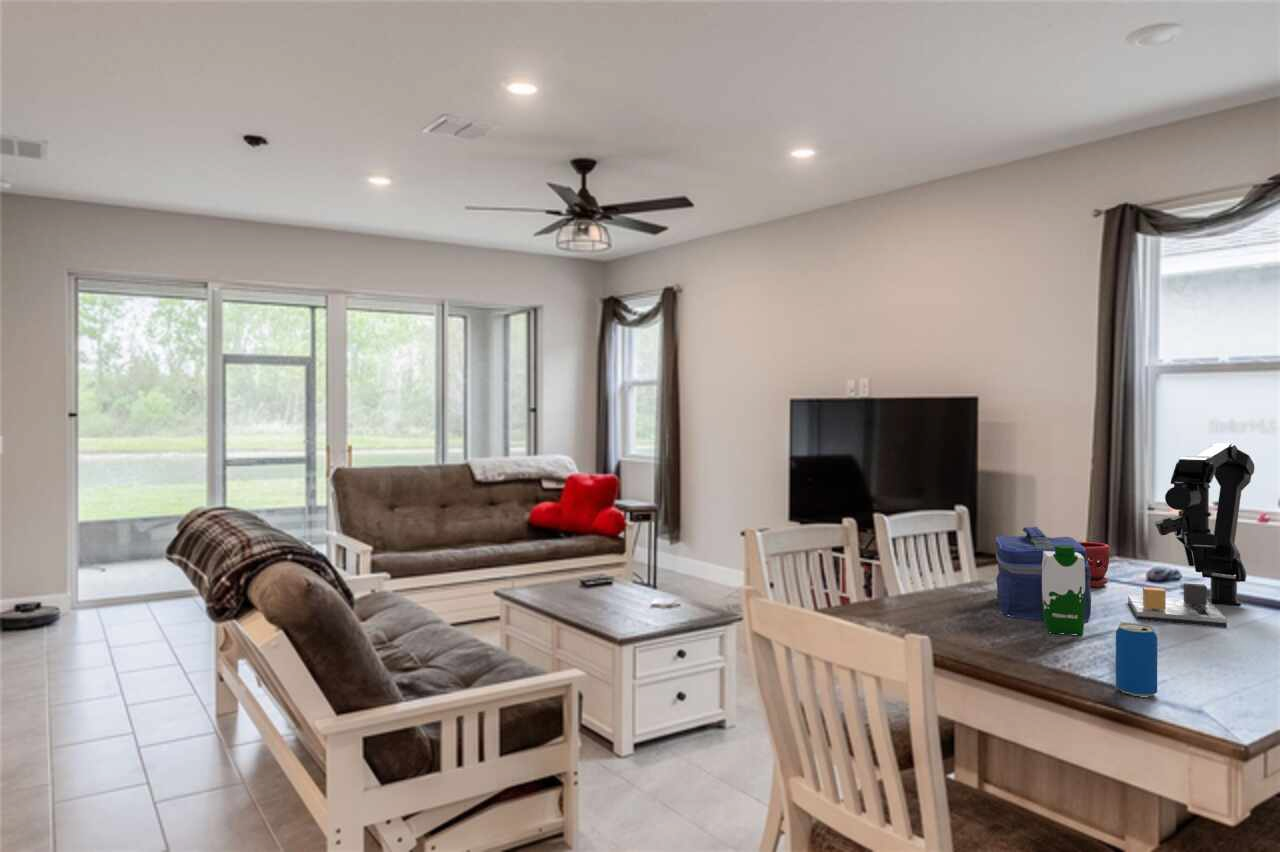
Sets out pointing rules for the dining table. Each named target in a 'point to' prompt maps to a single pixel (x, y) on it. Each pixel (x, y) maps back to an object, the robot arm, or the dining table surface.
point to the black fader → (1195, 594)
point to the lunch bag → (1029, 572)
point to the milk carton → (1063, 590)
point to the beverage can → (1136, 659)
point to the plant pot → (1097, 568)
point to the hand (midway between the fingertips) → (1194, 569)
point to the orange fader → (1154, 598)
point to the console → (1178, 612)
